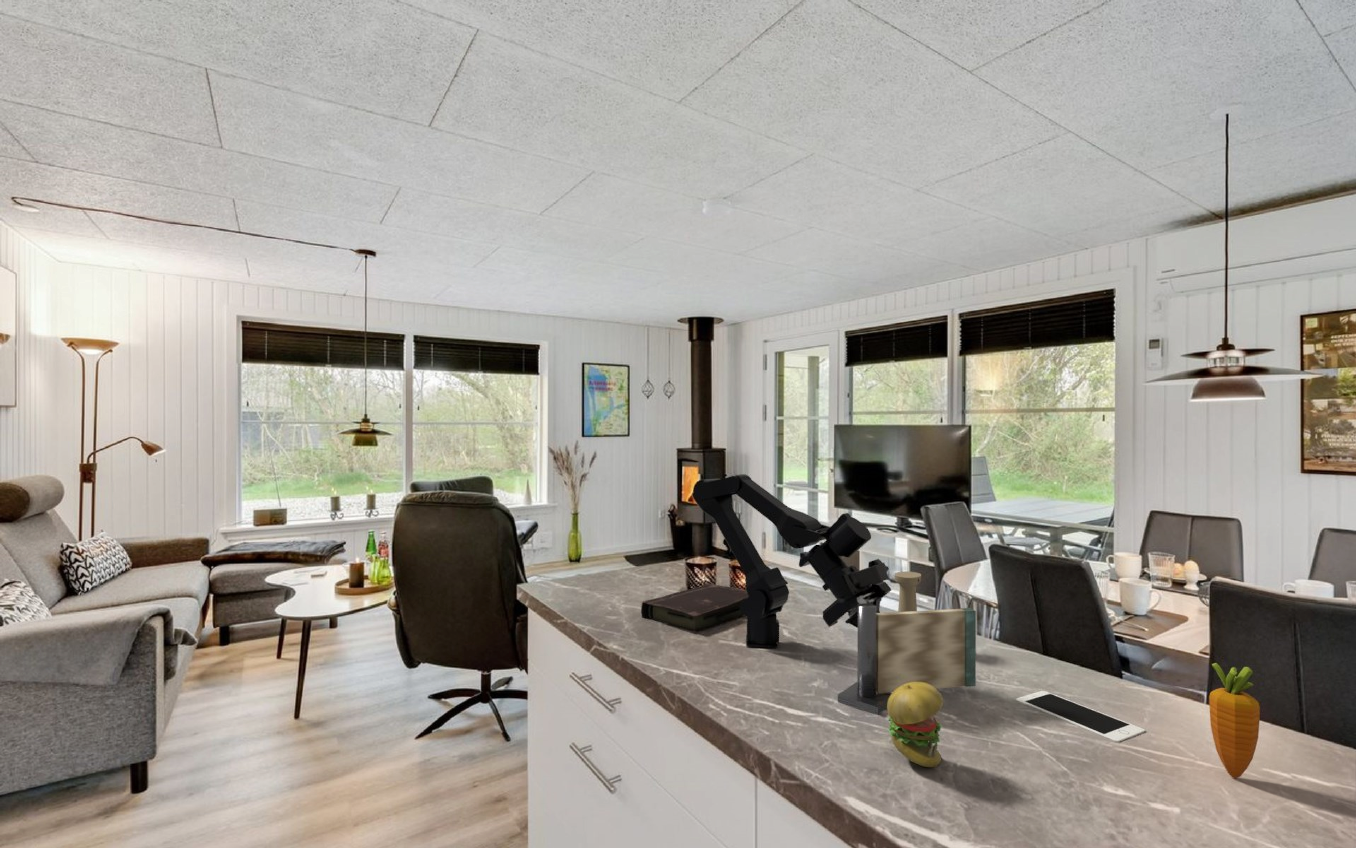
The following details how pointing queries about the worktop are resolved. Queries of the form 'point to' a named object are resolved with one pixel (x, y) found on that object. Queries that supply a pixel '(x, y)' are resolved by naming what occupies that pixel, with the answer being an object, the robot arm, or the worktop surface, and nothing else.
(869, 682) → the hinge post
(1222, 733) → the carrot
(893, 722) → the hamburger
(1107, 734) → the cell phone
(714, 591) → the diary
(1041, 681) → the worktop surface
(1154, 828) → the worktop surface
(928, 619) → the gate
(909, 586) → the handle
